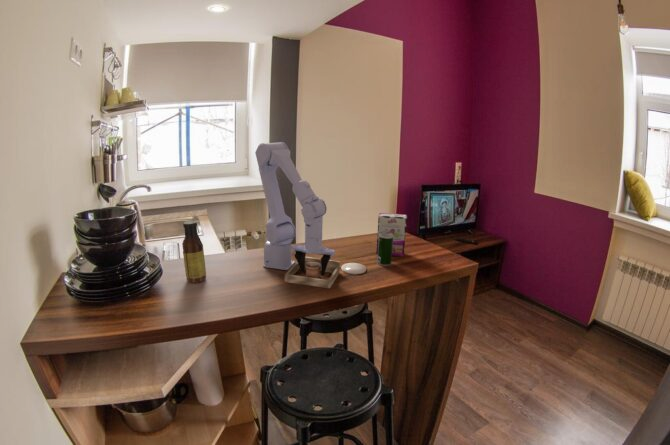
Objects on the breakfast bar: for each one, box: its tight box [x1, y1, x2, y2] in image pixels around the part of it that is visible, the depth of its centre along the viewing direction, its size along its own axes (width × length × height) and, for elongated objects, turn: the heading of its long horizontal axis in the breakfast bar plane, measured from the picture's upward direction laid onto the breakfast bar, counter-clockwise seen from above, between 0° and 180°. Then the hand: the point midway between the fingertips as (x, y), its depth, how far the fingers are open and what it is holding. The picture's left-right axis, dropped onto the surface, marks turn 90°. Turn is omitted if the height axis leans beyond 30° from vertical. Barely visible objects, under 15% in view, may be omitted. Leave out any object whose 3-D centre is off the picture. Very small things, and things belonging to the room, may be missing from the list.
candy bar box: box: [375, 212, 408, 257], centre depth 148 cm, size 11×5×16 cm, turn 81°
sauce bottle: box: [181, 220, 207, 284], centre depth 119 cm, size 7×6×20 cm
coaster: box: [340, 262, 367, 276], centre depth 134 cm, size 9×9×1 cm
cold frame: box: [284, 256, 341, 289], centre depth 126 cm, size 16×13×4 cm
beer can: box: [376, 232, 393, 267], centre depth 138 cm, size 5×5×12 cm
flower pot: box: [305, 262, 321, 279], centre depth 126 cm, size 5×5×5 cm
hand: (312, 273), depth 126 cm, fingers open, 7 cm apart
